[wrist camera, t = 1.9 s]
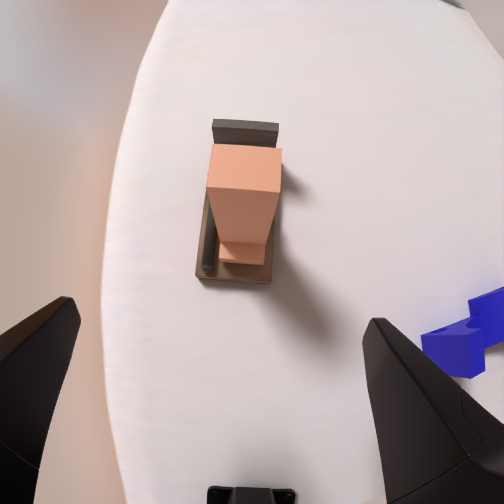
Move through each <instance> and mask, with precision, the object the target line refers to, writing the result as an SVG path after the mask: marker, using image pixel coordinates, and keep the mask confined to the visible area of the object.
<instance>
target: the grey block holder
mask: <svg viewBox="0 0 504 504" xmlns="http://www.w3.org/2000/svg"><path fill="white" fill-rule="evenodd" d="M212 131H213V139H214V144H229V145H245V146H258V147H269V148H276V143H277V137H278V132H279V123H270V122H259V121H245V120H228V119H213V123H212ZM274 220H275V213H274V216H273V220H272V224H271V227H270V231H269V234H268V238H267V241H266V245H265V257H264V264H263V265H253V264H240V263H228V262H220V260H219V250H220V239H219V235H218V231H217V228H216V224H215V220H214V216H213V212H212V208H211V204H210V201H209V197H208V193H207V189H206V194H205V201H204V208H203V216H202V223H201V231H200V238H199V246H198V255H197V263H196V272H195V276H196V277H197V278H205V279H216V280H228V281H240V282H252V283H265V284H270V282H271V270H272V254H273V237H274Z"/></svg>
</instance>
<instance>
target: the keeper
mask: <svg viewBox="0 0 504 504" xmlns="http://www.w3.org/2000/svg"><path fill="white" fill-rule="evenodd" d="M281 160H282V149H280V148H269V147H258V146H245V145H229V144H213V146H212V152H211V158H210V165H209V171H208V177H207V184H206V189H207V193H208V197H209V201H210V204H211V208H212V212H213V216H214V220H215V224H216V228H217V231H218V235H219V239H220V250H219V260H220V262H228V263H240V264H253V265H263V264H264V257H265V245H266V241H267V238H268V234H269V231H270V227H271V224H272V220H273V216H274V213H275V209H276V206H277V202H278V198H279V195H280V185H281Z"/></svg>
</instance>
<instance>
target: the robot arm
mask: <svg viewBox="0 0 504 504" xmlns="http://www.w3.org/2000/svg"><path fill="white" fill-rule="evenodd" d="M80 324H81V317H80V314H79V312H78V309H77V306H76V304H75V301H74V299H73V298H71V297H65V296H61V297H59V298H57V299H56V300H54V301H53V302H51V303H49V304H48V305H46V306H45V307H43V308H41V309H40V310H38V311H37V312H35V313H34V314H32V315H30V316H29V317H27V318H26V319H24V320H23V321H21V322H20V323H18V324H17V325H15V326H14V327H12V328H10V329H9V330H7V331H6V332H4V333H3V334H1V335H0V504H33V502H34V496H35V489H36V483H37V479H38V473H39V468H40V463H41V459H42V454H43V450H44V446H45V441H46V438H47V434H48V430H49V426H50V423H51V419H52V416H53V413H54V409H55V406H56V402H57V399H58V396H59V393H60V390H61V387H62V384H63V381H64V378H65V375H66V372H67V370H68V367H69V363H70V360H71V357H72V352H73V349H74V345H75V341H76V338H77V334H78V331H79V328H80ZM362 345H363V353H364V361H365V370H366V380H367V388H368V393H369V398H370V403H371V408H372V413H373V418H374V423H375V428H376V434H377V439H378V445H379V451H380V457H381V463H382V470H383V477H384V484H385V492H386V499H387V504H504V424H503V423H501V422H500V421H499V420H498V419H496V418H495V417H494V416H493V415H491V414H490V413H489V412H488V411H487V410H486V409H484V408H483V407H482V406H481V405H480V404H479V403H478V402H477V401H475V400H474V399H473V398H472V397H471V396H470V395H469V394H468V393H467V392H466V391H465V390H464V389H462V388H461V387H460V386H459V385H458V384H457V383H456V382H455V381H454V380H453V379H452V378H451V377H450V376H449V375H448V374H447V373H446V372H444V371H443V370H442V369H441V368H440V367H439V366H438V365H437V364H436V363H435V362H434V361H433V360H431V359H430V358H429V357H428V356H427V355H426V354H425V353H424V352H423V351H422V350H420V349H419V348H418V347H417V346H416V345H415V344H414V343H413V342H412V341H410V340H409V339H408V338H407V337H406V336H405V335H404V334H403V333H401V332H400V331H399V330H398V329H397V328H396V327H395V326H394V325H392V324H391V323H390V322H389V321H388V320H387V319H385V318H372V319H371V320H370V322H369V324H368V327H367V329H366V331H365V334H364V336H363V341H362ZM211 491H216V492H217V493H213V492H211ZM287 494H291V495H290V496H286V495H287ZM294 501H295V492H294V490H292V489H270V488H250V487H235V488H234V487H222V486H210V487H209V488H208V491H207V504H294Z"/></svg>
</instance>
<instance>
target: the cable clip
mask: <svg viewBox="0 0 504 504" xmlns="http://www.w3.org/2000/svg"><path fill="white" fill-rule="evenodd" d="M468 303H469V310H470V317H469V318H466V319H464V320H461V321H459V322H456V323H454V324H451V325H448V326H446V327H443V328H440V329H437V330H435V331H432V332H429V333H426V334H423V335H421V341H422V349H423V352H424V353H425V354H426V355H427V356H428V357H429V358H430V359H431V360H433V361H434V362H435V363H436V364H437V365H438V366H439V367H440V368H441V369H442V370H443V371H444V372H446V373H447V374H448V375H451V376H457V377H463V378H469V379H471V378H473V377H475V376H477V375H479V374H480V373H482V372H484V371H485V356H484V349H485V348H487V347H489V346H491V345H494V344H496V343H499V342H501V341H504V287H501V288H499V289H496V290H494V291H491V292H489V293H486V294H484V295H481V296H479V297H476V298H473V299H470V300H468Z"/></svg>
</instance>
